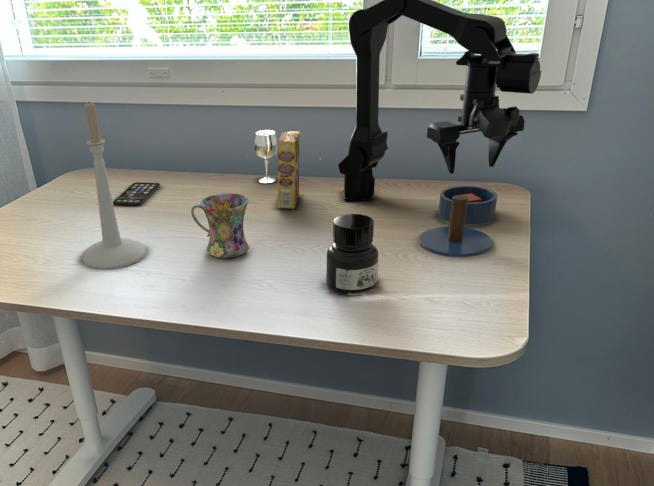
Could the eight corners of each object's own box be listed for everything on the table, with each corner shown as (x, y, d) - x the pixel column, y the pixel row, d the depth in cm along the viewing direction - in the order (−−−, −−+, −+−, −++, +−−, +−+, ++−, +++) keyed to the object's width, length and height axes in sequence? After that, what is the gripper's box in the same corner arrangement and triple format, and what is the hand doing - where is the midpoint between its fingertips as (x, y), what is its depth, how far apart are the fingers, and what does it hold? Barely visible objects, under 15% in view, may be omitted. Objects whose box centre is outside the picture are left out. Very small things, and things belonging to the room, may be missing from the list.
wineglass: (279, 176, 177) (277, 129, 171) (277, 183, 172) (276, 135, 166) (256, 177, 178) (254, 130, 171) (255, 184, 173) (252, 136, 167)
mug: (257, 245, 139) (255, 195, 134) (240, 264, 132) (237, 211, 127) (204, 239, 144) (200, 190, 138) (185, 257, 136) (179, 206, 131)
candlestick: (147, 264, 135) (125, 105, 119) (81, 272, 133) (50, 112, 117) (144, 240, 145) (123, 91, 129) (83, 247, 144) (55, 97, 128)
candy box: (296, 209, 156) (295, 141, 148) (277, 209, 157) (275, 141, 149) (300, 196, 163) (300, 130, 155) (282, 196, 164) (281, 131, 156)
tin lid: (423, 260, 129) (428, 211, 124) (414, 232, 141) (418, 186, 136) (499, 259, 128) (507, 209, 123) (483, 231, 139) (489, 184, 134)
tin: (443, 227, 142) (445, 204, 139) (434, 208, 152) (436, 186, 149) (499, 226, 141) (503, 203, 138) (487, 207, 151) (490, 184, 148)
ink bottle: (340, 301, 117) (342, 235, 111) (315, 281, 124) (315, 218, 118) (388, 288, 120) (392, 223, 114) (361, 269, 127) (364, 207, 121)
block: (462, 219, 144) (464, 201, 142) (452, 213, 147) (454, 195, 145) (479, 217, 145) (481, 198, 143) (469, 211, 148) (471, 193, 146)
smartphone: (111, 202, 165) (134, 182, 177) (112, 205, 165) (134, 184, 177) (140, 203, 163) (161, 182, 175) (140, 206, 164) (161, 185, 176)
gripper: (459, 104, 124) (451, 188, 132) (548, 90, 128) (535, 173, 136) (428, 93, 133) (422, 172, 141) (512, 81, 137) (502, 159, 145)
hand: (471, 169), depth 141 cm, fingers open, 9 cm apart
